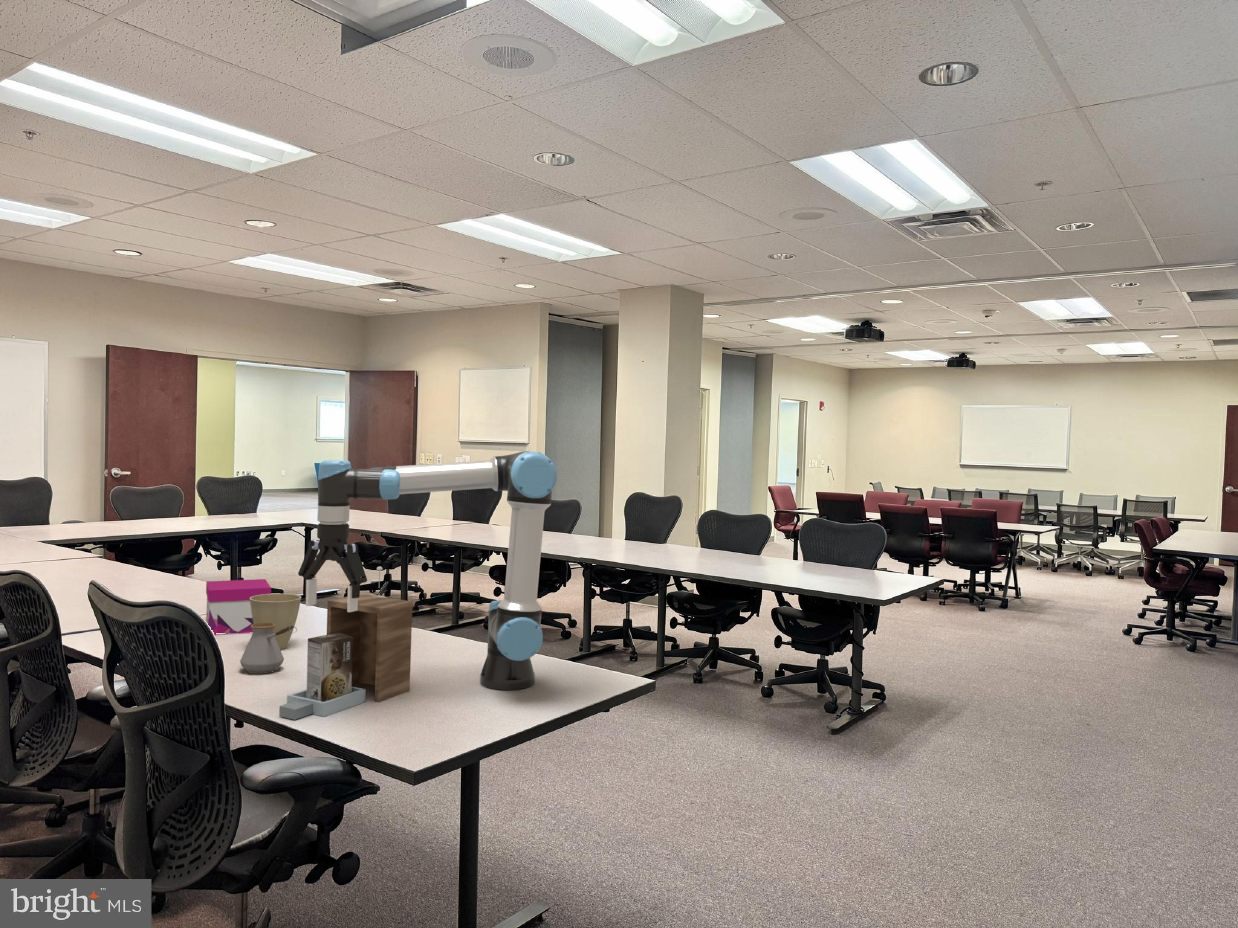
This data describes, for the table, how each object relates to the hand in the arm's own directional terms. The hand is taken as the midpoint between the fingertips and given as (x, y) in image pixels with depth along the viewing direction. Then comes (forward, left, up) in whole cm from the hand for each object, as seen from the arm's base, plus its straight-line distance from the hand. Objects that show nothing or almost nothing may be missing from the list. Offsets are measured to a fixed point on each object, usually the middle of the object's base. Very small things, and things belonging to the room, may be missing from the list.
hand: (331, 608), depth 211 cm
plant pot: (+56, -34, -24) cm, 70 cm away
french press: (+36, -57, -24) cm, 72 cm away
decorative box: (+88, -47, -25) cm, 103 cm away
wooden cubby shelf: (0, -14, -24) cm, 28 cm away
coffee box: (0, 0, -23) cm, 23 cm away
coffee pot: (+34, -13, -25) cm, 44 cm away
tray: (0, +3, -24) cm, 24 cm away
